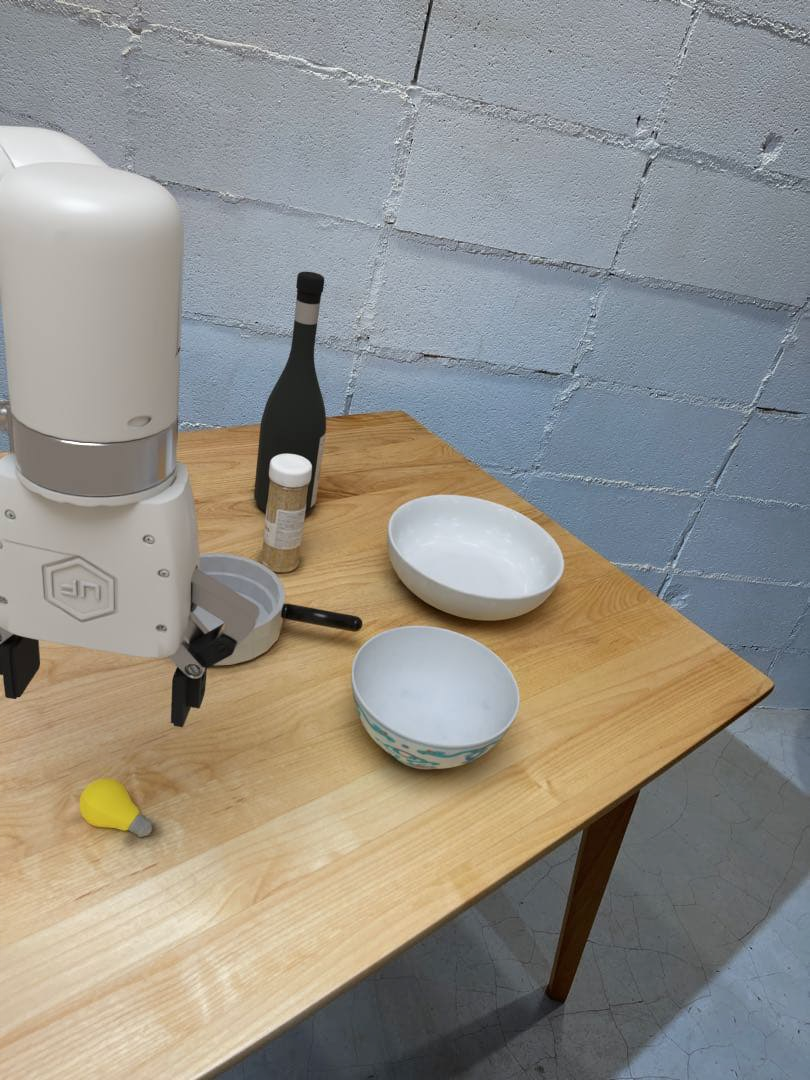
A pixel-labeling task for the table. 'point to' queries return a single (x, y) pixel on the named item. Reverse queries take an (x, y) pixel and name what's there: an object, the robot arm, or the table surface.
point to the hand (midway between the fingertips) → (104, 696)
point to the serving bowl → (473, 556)
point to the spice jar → (285, 511)
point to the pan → (254, 587)
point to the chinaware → (432, 695)
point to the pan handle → (321, 617)
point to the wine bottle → (295, 399)
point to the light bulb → (112, 807)
